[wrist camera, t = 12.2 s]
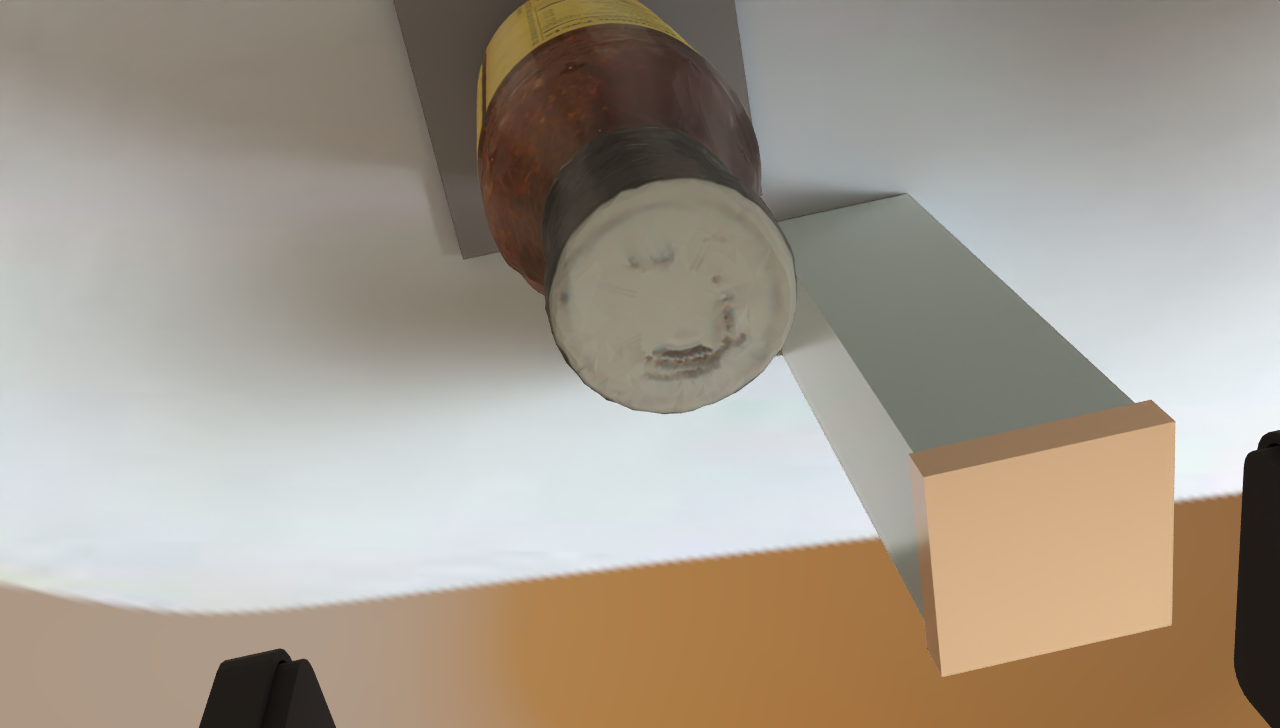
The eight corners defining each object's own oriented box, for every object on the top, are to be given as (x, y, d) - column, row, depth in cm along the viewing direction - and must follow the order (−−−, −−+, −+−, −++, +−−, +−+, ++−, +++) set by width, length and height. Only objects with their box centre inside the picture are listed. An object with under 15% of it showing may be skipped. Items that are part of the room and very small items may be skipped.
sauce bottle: (630, 207, 38) (752, 554, 21) (447, 135, 37) (407, 445, 19) (716, 16, 36) (936, 219, 18) (525, -70, 34) (562, 62, 17)
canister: (913, 186, 40) (1175, 421, 25) (925, 329, 42) (1171, 624, 27) (757, 220, 40) (923, 477, 24) (778, 362, 42) (941, 677, 27)
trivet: (711, -131, 35) (714, -130, 34) (758, 189, 39) (762, 195, 39) (379, -61, 35) (377, -59, 34) (463, 253, 39) (463, 259, 39)
